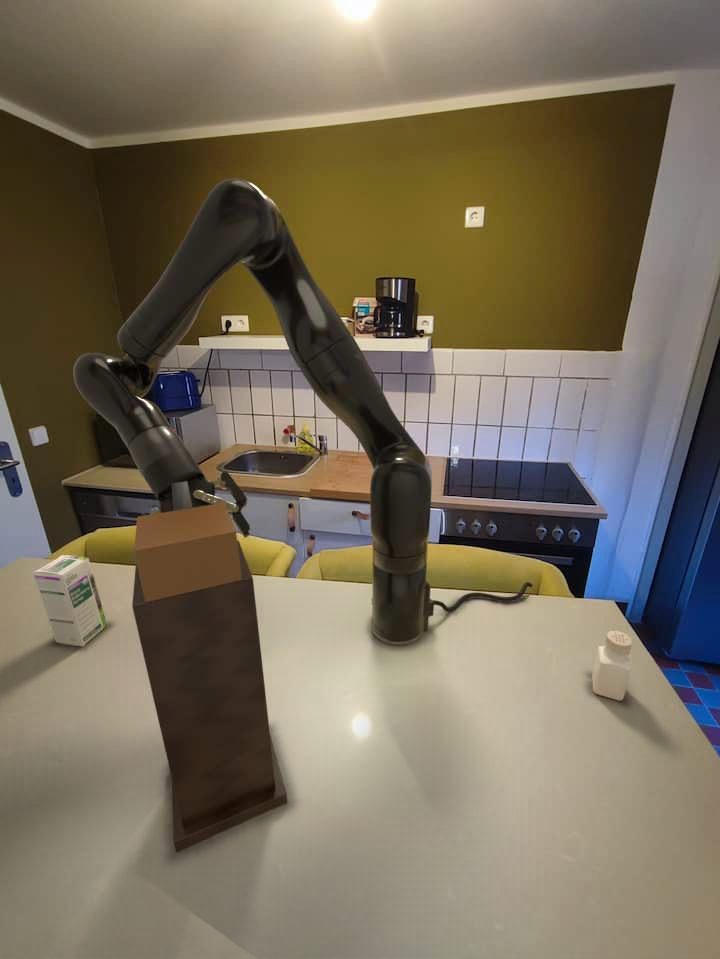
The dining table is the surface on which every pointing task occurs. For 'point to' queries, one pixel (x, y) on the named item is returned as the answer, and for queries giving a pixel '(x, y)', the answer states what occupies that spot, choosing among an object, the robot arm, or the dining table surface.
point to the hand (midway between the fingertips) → (222, 551)
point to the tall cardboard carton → (186, 548)
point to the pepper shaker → (612, 666)
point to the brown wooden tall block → (210, 705)
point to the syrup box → (71, 599)
